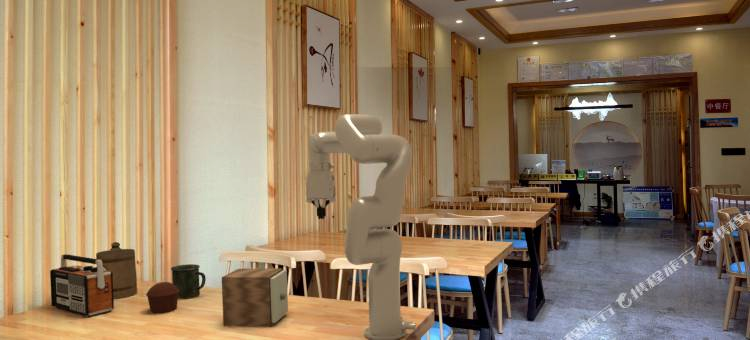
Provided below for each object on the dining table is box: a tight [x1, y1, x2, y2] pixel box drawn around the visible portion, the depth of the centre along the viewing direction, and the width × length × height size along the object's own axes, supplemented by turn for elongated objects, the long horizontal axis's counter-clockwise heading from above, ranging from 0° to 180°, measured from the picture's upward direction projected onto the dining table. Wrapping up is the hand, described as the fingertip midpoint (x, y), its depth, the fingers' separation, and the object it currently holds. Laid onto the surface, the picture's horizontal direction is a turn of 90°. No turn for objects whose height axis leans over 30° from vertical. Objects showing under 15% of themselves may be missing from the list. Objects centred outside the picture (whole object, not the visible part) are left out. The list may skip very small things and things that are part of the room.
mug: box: [170, 263, 207, 300], centre depth 218 cm, size 11×15×12 cm
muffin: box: [145, 281, 180, 315], centre depth 199 cm, size 12×11×10 cm
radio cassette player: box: [49, 253, 115, 318], centre depth 203 cm, size 29×10×20 cm, turn 54°
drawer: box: [270, 269, 289, 324], centre depth 182 cm, size 17×14×14 cm
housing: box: [221, 267, 284, 328], centre depth 182 cm, size 16×14×16 cm
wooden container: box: [95, 241, 138, 300], centre depth 225 cm, size 15×15×22 cm
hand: (321, 218), depth 196 cm, fingers closed
